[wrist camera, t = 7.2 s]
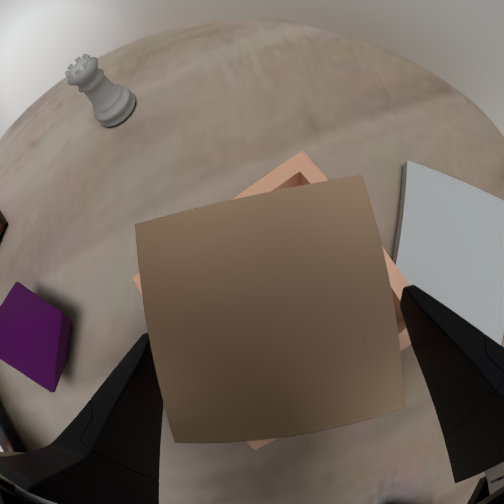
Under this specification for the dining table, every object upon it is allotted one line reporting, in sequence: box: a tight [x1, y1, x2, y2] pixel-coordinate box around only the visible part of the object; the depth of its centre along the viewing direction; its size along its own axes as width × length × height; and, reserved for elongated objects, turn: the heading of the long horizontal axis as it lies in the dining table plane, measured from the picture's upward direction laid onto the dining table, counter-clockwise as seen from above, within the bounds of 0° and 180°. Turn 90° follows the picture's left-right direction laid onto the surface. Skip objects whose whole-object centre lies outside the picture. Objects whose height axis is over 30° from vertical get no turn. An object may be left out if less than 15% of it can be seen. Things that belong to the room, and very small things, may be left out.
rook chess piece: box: [66, 54, 136, 127], centre depth 20 cm, size 4×4×8 cm
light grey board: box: [392, 160, 504, 345], centre depth 17 cm, size 12×12×1 cm
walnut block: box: [135, 175, 405, 443], centre depth 12 cm, size 5×5×13 cm
